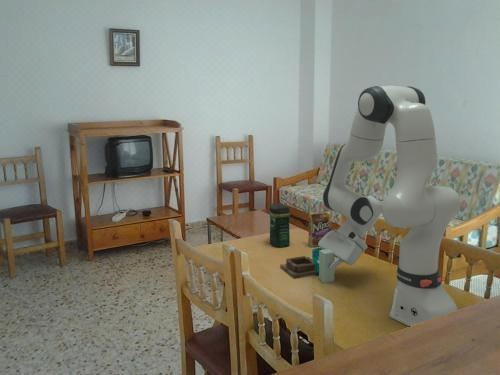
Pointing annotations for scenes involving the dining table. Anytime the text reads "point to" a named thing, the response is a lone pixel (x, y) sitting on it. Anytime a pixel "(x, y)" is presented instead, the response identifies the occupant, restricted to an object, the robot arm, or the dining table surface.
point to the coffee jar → (279, 225)
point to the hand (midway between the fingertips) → (325, 264)
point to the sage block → (326, 265)
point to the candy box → (318, 226)
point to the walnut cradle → (299, 267)
